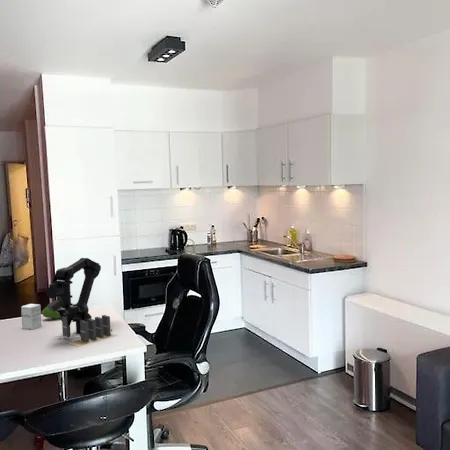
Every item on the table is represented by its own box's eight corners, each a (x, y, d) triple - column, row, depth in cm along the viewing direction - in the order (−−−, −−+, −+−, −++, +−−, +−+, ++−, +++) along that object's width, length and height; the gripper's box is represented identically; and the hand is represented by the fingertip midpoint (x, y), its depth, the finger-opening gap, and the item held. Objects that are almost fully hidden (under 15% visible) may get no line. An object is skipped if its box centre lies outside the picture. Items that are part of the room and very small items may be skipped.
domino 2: (86, 342, 229) (85, 322, 229) (80, 340, 233) (79, 321, 232) (89, 341, 231) (88, 322, 230) (83, 339, 234) (82, 320, 233)
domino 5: (108, 336, 239) (107, 317, 238) (102, 334, 242) (101, 315, 241) (110, 335, 240) (109, 316, 239) (105, 333, 243) (104, 314, 242)
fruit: (44, 322, 269) (43, 305, 268) (41, 318, 277) (40, 302, 276) (70, 318, 276) (70, 302, 276) (67, 314, 285) (66, 298, 284)
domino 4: (100, 338, 236) (100, 319, 235) (95, 336, 239) (94, 317, 238) (103, 337, 237) (102, 318, 236) (98, 335, 240) (97, 316, 239)
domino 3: (93, 340, 232) (92, 320, 232) (88, 338, 236) (87, 319, 235) (96, 339, 234) (95, 320, 233) (91, 337, 237) (90, 318, 236)
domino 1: (67, 337, 233) (66, 317, 232) (62, 335, 236) (61, 316, 235) (70, 336, 234) (69, 317, 233) (65, 334, 237) (64, 315, 237)
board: (77, 347, 224) (77, 346, 224) (67, 344, 230) (67, 342, 230) (115, 336, 240) (115, 335, 240) (106, 333, 246) (106, 332, 246)
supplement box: (21, 328, 258) (20, 306, 257) (31, 325, 265) (30, 303, 264) (32, 329, 255) (30, 307, 254) (42, 326, 262) (40, 304, 261)
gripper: (40, 294, 234) (42, 324, 235) (58, 299, 221) (60, 331, 222) (61, 290, 242) (62, 319, 243) (79, 295, 229) (81, 326, 231)
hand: (66, 324), depth 235 cm, fingers closed on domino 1, 5 cm apart
